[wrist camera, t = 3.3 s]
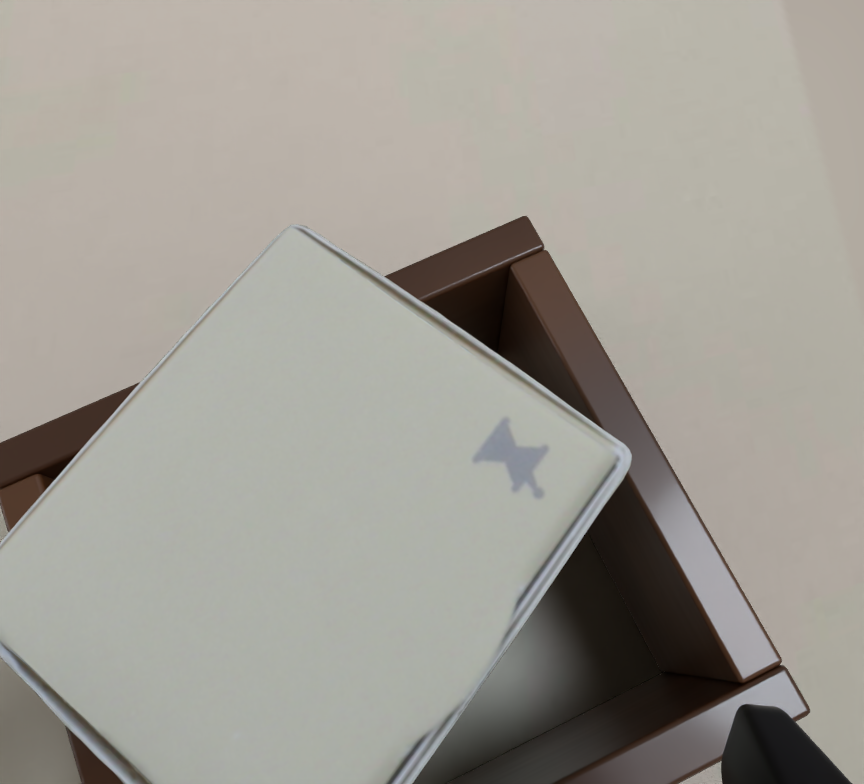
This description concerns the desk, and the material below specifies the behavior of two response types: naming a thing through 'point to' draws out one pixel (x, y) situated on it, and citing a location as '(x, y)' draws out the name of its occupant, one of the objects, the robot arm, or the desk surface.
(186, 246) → the desk surface
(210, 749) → the box
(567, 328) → the holder
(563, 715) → the desk surface
